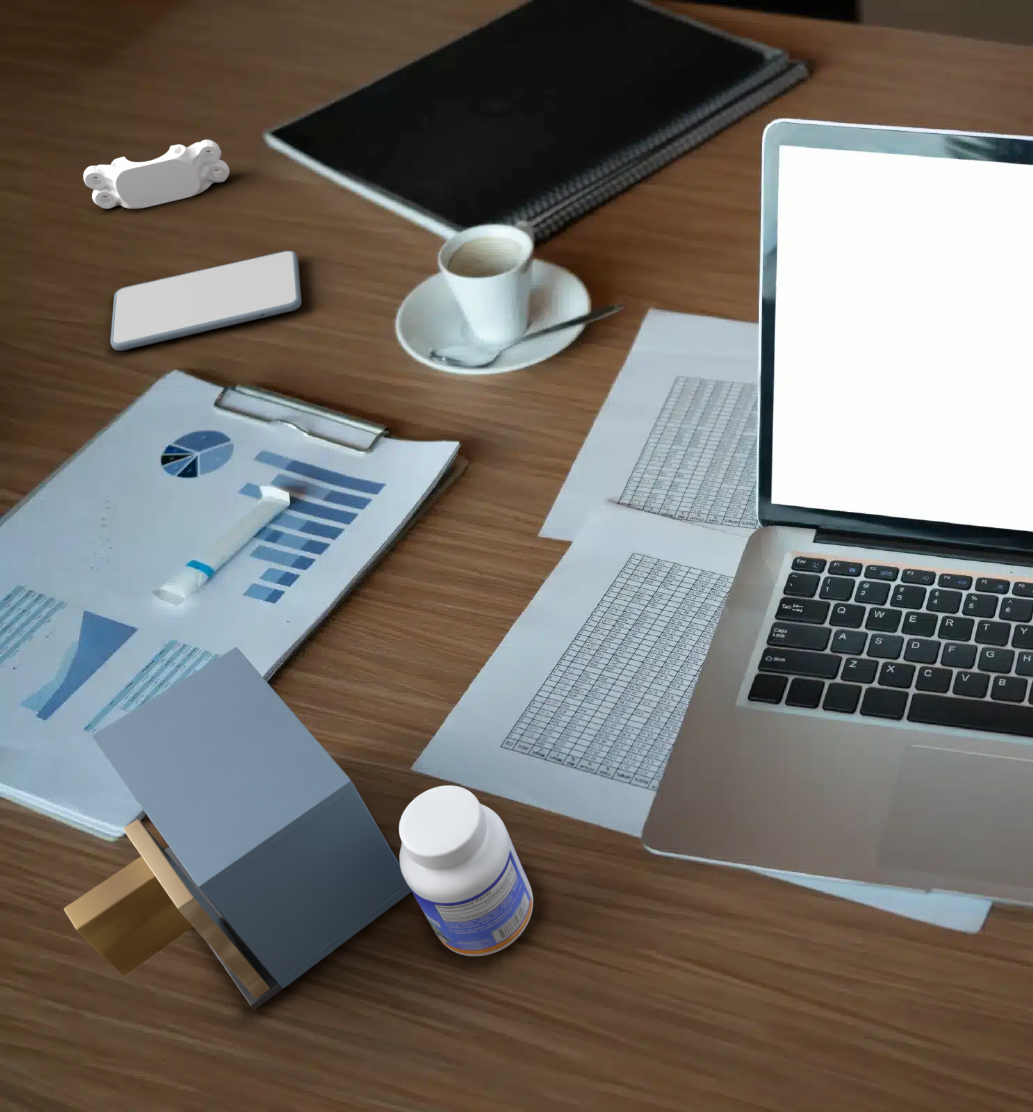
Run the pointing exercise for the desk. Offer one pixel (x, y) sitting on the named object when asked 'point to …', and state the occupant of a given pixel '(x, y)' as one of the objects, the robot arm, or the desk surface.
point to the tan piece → (154, 913)
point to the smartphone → (205, 300)
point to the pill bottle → (464, 871)
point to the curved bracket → (157, 177)
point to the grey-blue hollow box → (256, 817)
